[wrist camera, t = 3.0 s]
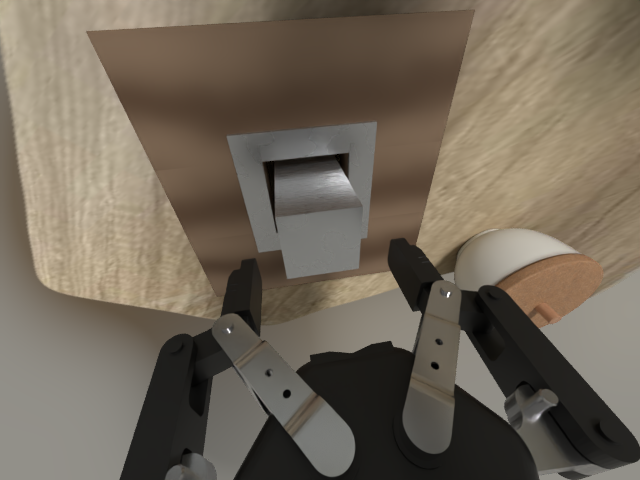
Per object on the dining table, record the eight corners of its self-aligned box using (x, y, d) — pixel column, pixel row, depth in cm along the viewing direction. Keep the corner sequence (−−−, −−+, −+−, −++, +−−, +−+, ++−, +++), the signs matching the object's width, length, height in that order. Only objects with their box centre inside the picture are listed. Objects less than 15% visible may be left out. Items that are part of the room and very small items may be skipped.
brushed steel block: (274, 155, 21) (274, 217, 14) (330, 149, 22) (362, 206, 14) (282, 205, 24) (287, 278, 17) (331, 199, 25) (358, 268, 17)
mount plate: (114, 34, 15) (81, 30, 13) (447, 14, 17) (479, 8, 14) (221, 276, 29) (216, 299, 26) (399, 251, 31) (411, 270, 28)
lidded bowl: (537, 192, 28) (651, 255, 20) (524, 261, 36) (602, 327, 28) (431, 236, 30) (495, 311, 22) (441, 292, 38) (490, 364, 29)
